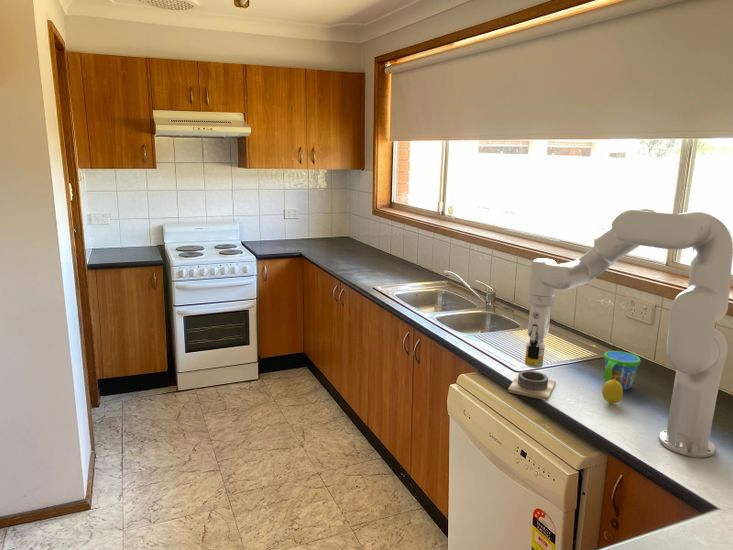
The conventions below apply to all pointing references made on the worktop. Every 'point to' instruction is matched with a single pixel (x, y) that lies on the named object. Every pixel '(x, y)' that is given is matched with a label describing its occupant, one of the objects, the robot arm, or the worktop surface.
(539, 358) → the supplement bottle
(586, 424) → the worktop surface
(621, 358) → the snack cup
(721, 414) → the worktop surface
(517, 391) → the collar board
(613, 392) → the lemon
